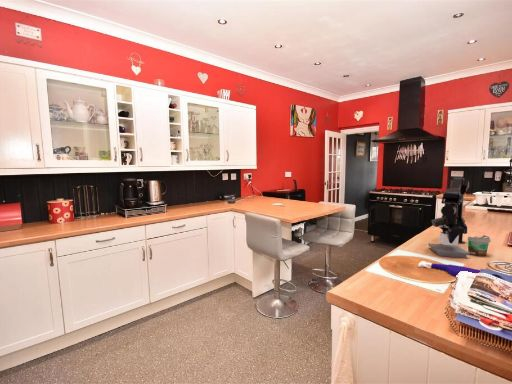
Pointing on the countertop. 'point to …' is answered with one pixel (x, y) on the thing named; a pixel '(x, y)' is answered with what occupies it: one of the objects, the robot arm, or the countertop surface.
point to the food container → (478, 245)
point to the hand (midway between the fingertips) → (448, 241)
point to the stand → (448, 250)
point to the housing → (447, 239)
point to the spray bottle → (448, 268)
